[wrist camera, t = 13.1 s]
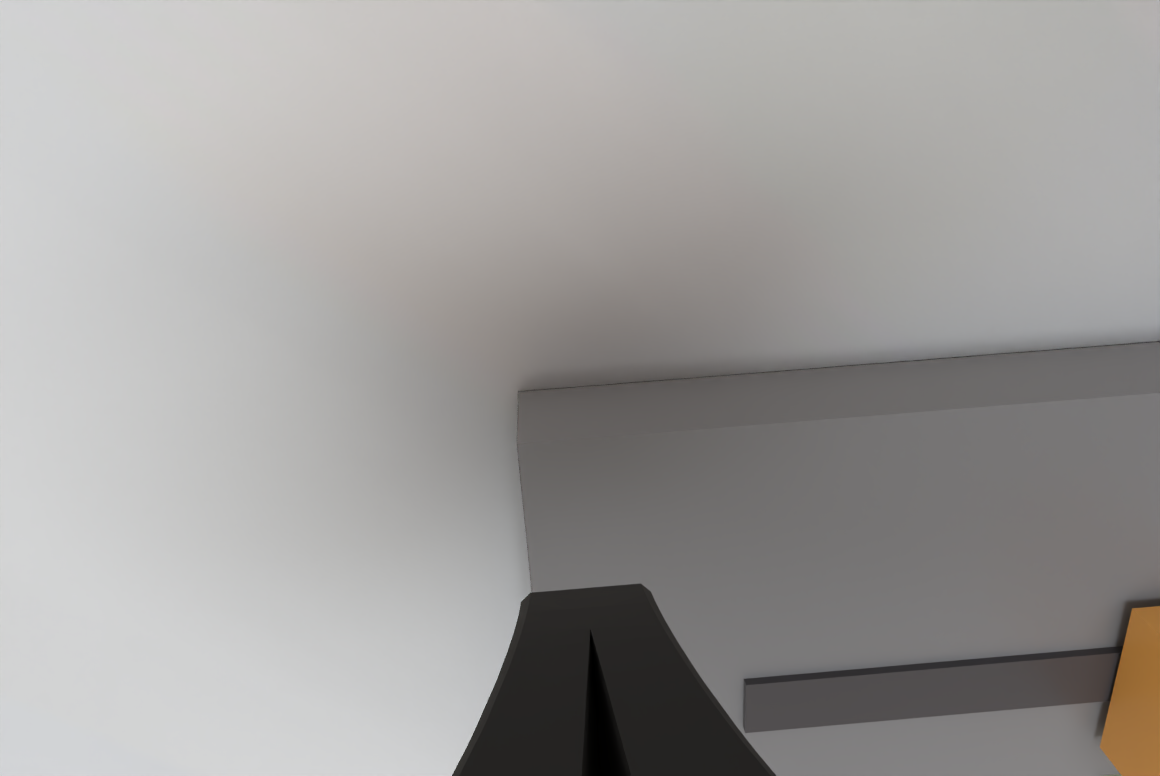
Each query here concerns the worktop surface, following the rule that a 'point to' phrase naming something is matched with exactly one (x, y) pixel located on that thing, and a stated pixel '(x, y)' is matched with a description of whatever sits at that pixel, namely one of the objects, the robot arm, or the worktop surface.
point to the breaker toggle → (1136, 699)
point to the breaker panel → (873, 547)
